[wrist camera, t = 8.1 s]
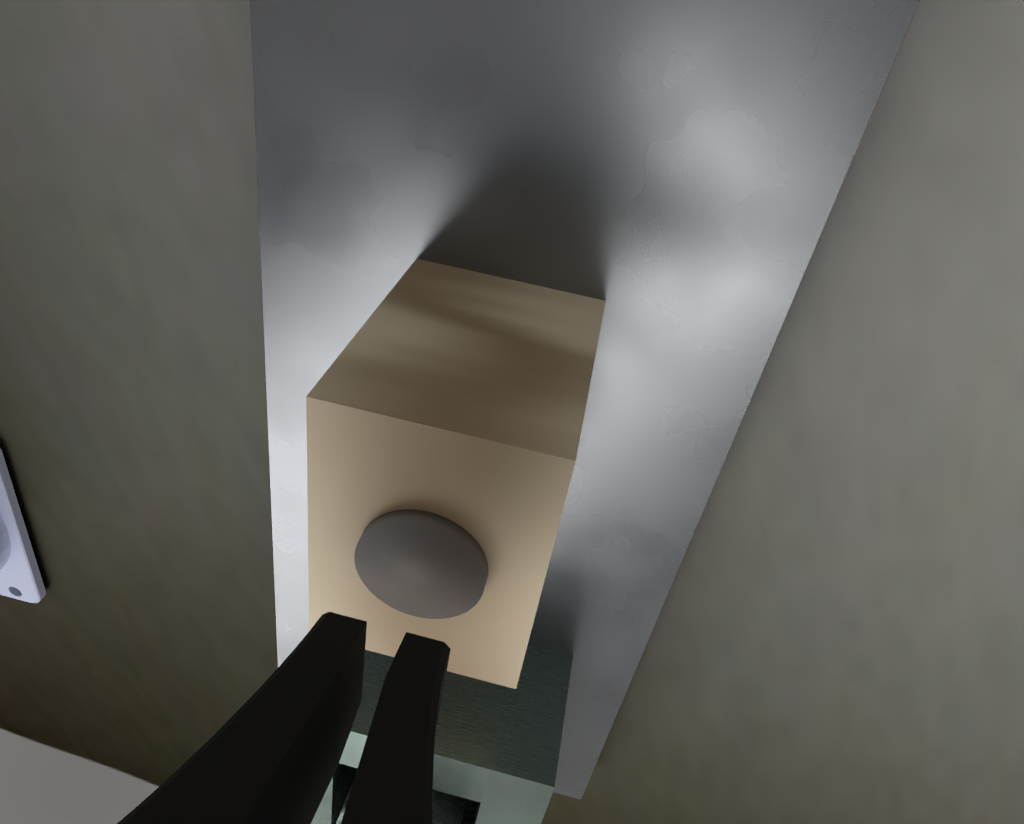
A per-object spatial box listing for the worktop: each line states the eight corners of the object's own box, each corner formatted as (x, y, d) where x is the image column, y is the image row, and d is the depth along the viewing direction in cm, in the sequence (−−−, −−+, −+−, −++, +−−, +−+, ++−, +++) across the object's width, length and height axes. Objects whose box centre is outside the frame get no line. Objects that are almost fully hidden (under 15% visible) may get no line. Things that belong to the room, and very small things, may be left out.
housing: (399, 461, 20) (302, 647, 15) (416, 258, 16) (297, 406, 11) (555, 499, 20) (513, 701, 14) (605, 301, 16) (573, 473, 11)
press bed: (293, 690, 29) (223, 828, 25) (268, -456, 11) (4, -710, 7) (584, 769, 28) (566, 927, 24) (1033, -328, 11) (1295, -518, 6)
